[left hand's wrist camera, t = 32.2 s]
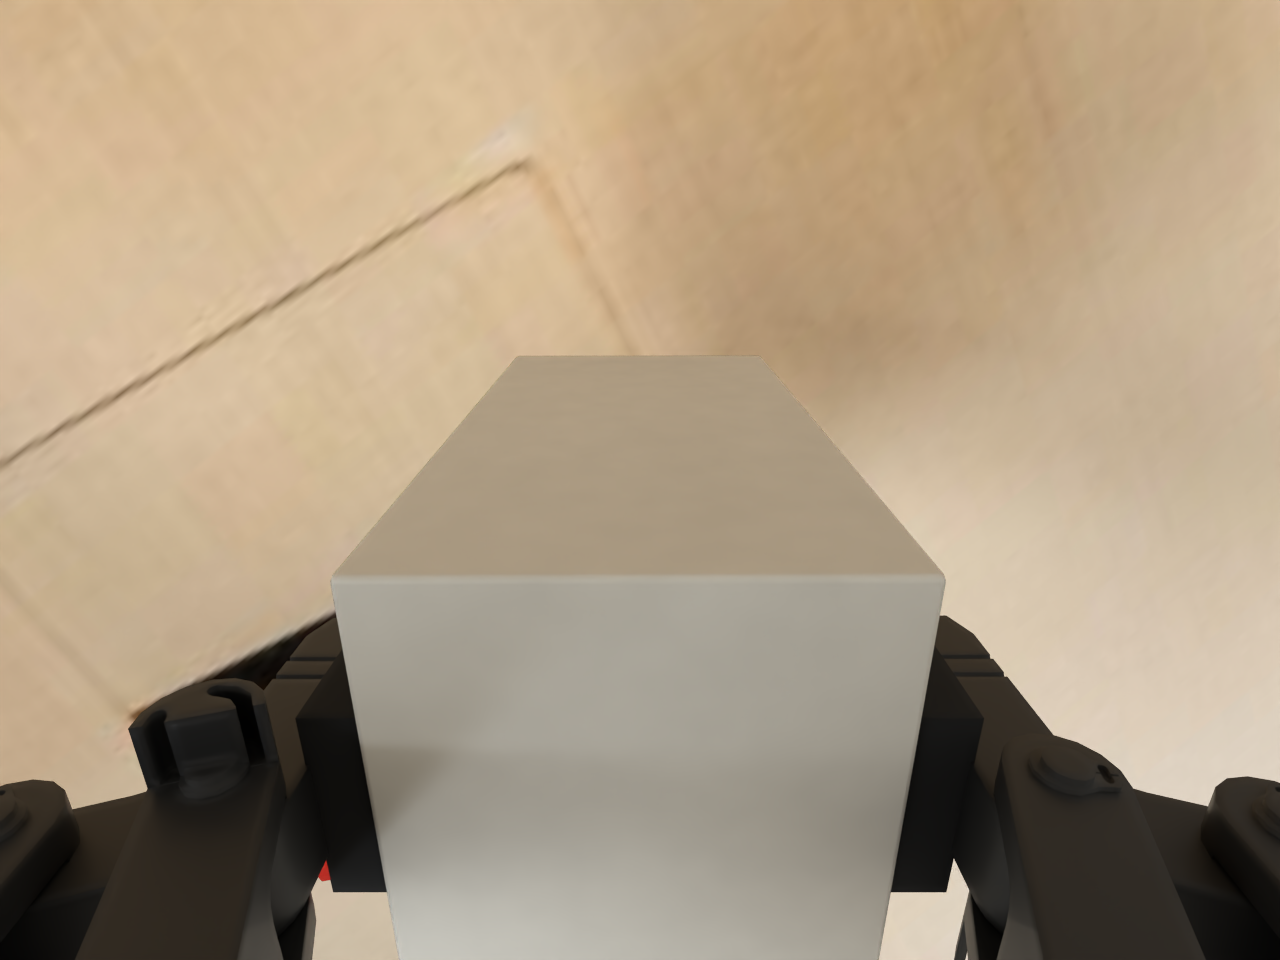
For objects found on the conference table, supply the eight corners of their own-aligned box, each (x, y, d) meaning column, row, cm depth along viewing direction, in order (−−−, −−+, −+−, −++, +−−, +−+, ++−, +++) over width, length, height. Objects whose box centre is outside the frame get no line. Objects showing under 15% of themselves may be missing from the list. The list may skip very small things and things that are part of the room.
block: (760, 354, 18) (950, 577, 7) (747, 579, 20) (873, 1005, 9) (516, 355, 18) (326, 577, 7) (530, 579, 20) (405, 1006, 9)
